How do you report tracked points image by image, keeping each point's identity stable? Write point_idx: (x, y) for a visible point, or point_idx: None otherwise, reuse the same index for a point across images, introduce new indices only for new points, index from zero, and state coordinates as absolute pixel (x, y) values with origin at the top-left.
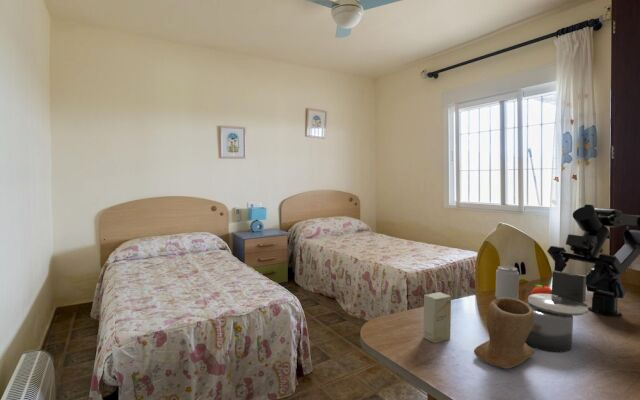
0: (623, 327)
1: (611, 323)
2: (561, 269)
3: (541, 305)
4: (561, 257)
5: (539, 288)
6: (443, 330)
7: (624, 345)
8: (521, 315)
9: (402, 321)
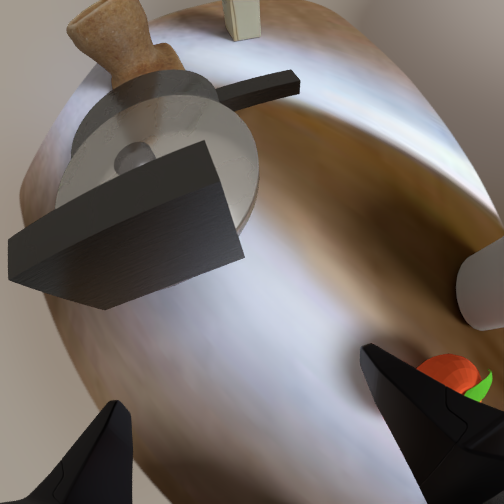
0: (186, 490)
1: (220, 490)
2: (407, 446)
3: (140, 104)
4: (489, 494)
5: (458, 377)
6: (227, 20)
7: (89, 362)
8: (74, 18)
9: (318, 21)
